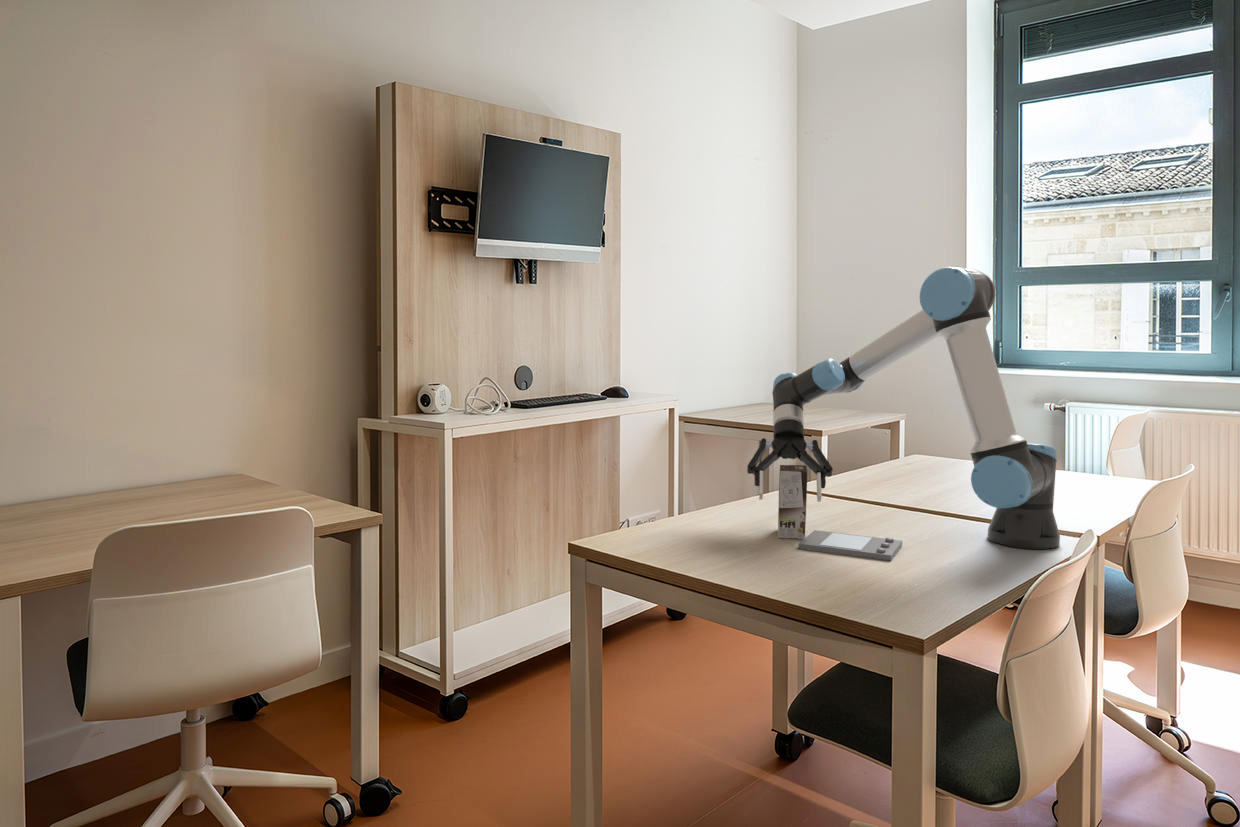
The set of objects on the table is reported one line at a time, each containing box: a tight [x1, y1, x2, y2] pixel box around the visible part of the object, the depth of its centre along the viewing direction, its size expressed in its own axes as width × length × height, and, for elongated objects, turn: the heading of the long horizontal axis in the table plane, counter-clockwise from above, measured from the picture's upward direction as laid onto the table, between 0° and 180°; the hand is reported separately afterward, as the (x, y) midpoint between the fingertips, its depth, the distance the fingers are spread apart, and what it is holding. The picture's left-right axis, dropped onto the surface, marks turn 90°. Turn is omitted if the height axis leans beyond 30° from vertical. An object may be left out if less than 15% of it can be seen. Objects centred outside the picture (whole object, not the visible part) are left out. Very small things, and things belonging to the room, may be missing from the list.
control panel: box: [797, 529, 903, 561], centre depth 192 cm, size 20×14×2 cm
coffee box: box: [777, 464, 808, 540], centre depth 202 cm, size 9×6×16 cm
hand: (790, 497), depth 203 cm, fingers open, 13 cm apart
